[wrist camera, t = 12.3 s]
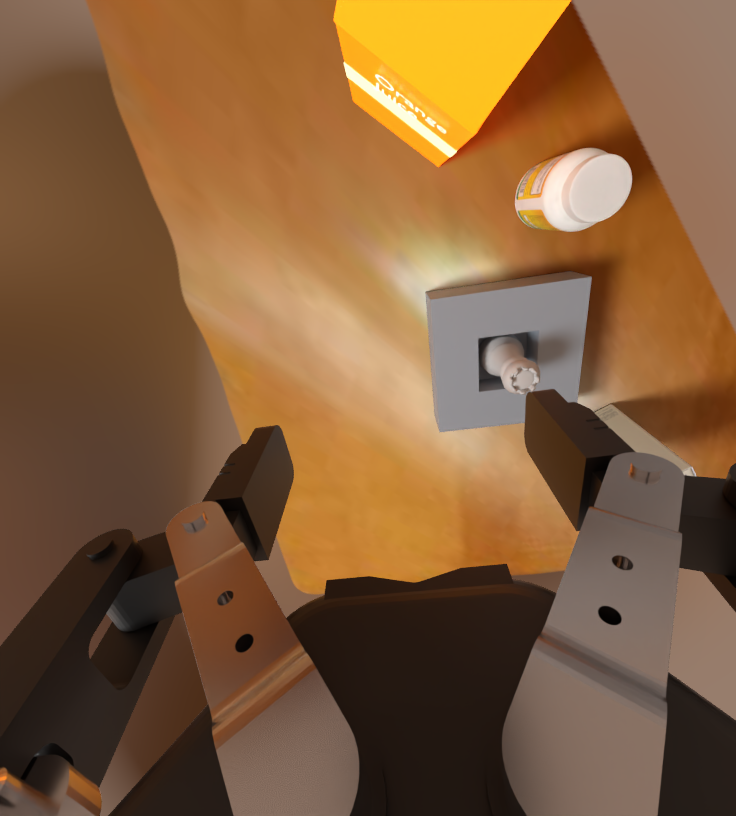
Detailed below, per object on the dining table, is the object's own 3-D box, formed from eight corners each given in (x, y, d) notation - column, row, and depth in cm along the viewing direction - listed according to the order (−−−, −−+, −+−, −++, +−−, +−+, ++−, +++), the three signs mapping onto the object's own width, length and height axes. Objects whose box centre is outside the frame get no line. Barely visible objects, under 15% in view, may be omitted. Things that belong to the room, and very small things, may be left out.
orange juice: (405, -10, 28) (451, -428, 10) (497, 71, 30) (676, -156, 12) (351, 103, 31) (311, -57, 13) (437, 170, 33) (507, 110, 15)
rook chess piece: (527, 355, 39) (561, 385, 32) (490, 379, 40) (514, 414, 33) (506, 321, 37) (537, 345, 30) (468, 348, 39) (488, 376, 32)
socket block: (425, 291, 37) (430, 299, 34) (570, 271, 36) (591, 276, 32) (434, 414, 43) (439, 432, 40) (558, 400, 42) (575, 417, 39)
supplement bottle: (510, 171, 33) (556, 154, 24) (574, 151, 32) (646, 126, 23) (516, 237, 35) (561, 242, 26) (576, 219, 34) (642, 219, 25)
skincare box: (574, 421, 43) (639, 488, 33) (612, 401, 42) (693, 464, 31) (594, 458, 46) (661, 532, 35) (631, 440, 44) (712, 512, 33)
